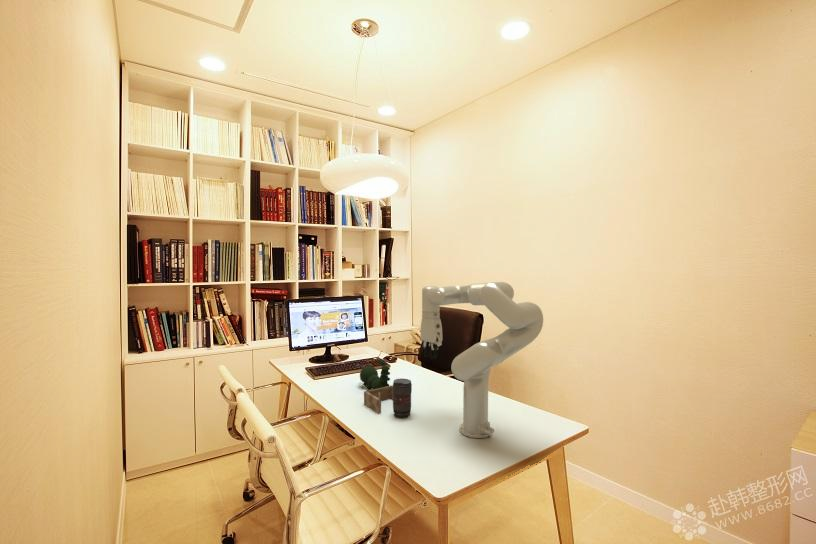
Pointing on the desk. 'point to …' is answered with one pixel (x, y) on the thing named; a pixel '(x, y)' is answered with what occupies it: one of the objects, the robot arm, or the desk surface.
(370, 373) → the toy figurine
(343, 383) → the desk surface
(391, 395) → the walnut bay
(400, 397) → the dark barrel
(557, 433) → the desk surface
